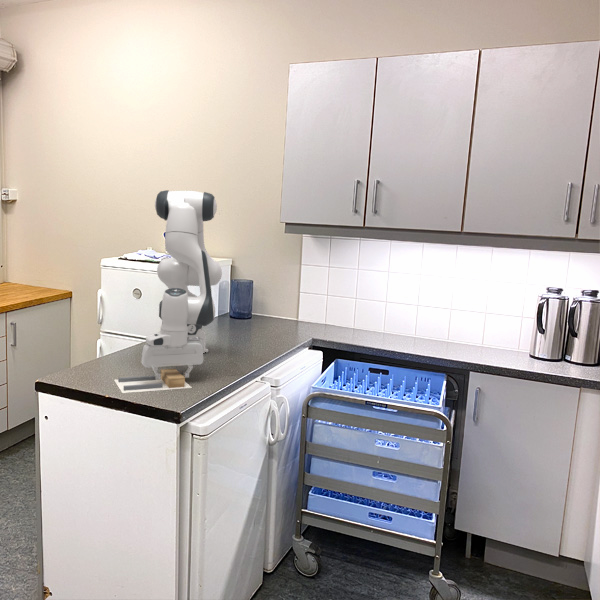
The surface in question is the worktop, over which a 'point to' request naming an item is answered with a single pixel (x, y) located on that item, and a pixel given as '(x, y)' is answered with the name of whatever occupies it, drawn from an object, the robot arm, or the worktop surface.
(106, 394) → the worktop surface
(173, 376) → the brown wooden block
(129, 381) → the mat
